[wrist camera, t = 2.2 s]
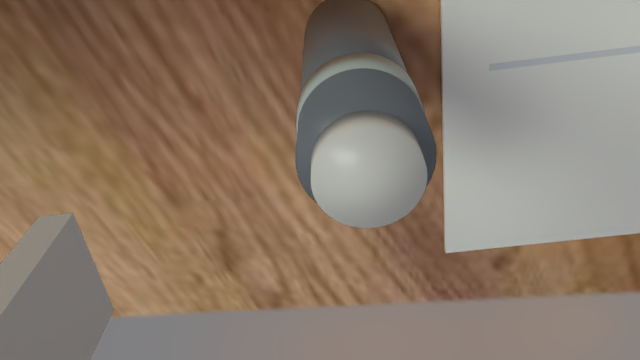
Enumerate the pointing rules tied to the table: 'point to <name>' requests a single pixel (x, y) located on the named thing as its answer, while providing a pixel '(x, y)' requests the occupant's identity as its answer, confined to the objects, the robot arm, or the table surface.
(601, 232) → the paper
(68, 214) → the robot arm
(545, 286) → the table surface
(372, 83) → the marker
